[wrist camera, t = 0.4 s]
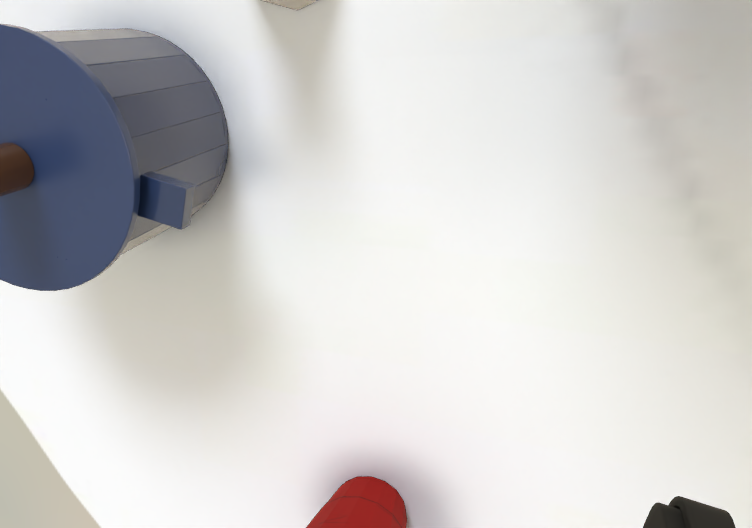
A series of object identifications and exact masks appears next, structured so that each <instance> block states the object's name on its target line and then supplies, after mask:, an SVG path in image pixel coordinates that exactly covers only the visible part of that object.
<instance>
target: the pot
mask: <svg viewBox="0 0 752 528" xmlns="http://www.w3.org/2000/svg"><path fill="white" fill-rule="evenodd" d="M37 33H40V34H42V35H44V36H46V37H48V38H50V39H52V40H53V41H55V42H57V43H59V44H60V45H61V46H63V47H64V48H66V49H67V50H69V51H70V52H72V53H73V54H74V55H75V56H76V57H77V58H78V59H80V60H81V61H82V62H83V63H84V64H85V65H86V66H87V67H88V68H89V69H90V70H91V71H92V72H93V73H94V74H95V76H96V77H97V78H98V79H99V80H100V81H101V83H102V84H103V85H104V87H105V88H106V90H107V91H108V92H109V94H110V95H111V97H112V98H113V100H114V102H115V103H116V105H117V107H118V109H119V110H120V112H121V114H122V116H123V119H124V121H125V123H126V125H127V127H128V130H129V132H130V136H131V139H132V142H133V145H134V148H135V152H136V157H137V162H138V167H139V178H140V202H139V209H138V215H137V219H136V223H135V226H134V229H133V233H132V235H131V237H130V239H129V241H128V243H127V245H126V247H125V248H124V250H123V251H122V253H121V254H123V253H125V252H127V251H129V250H130V249H132V248H134V247H136V246H138V245H140V244H141V243H143V242H145V241H147V240H149V239H151V238H153V237H154V236H156V235H158V234H160V233H162V232H164V231H165V230H167V229H169V228H171V227H174V228H178V229H181V230H182V229H183V228H185V227H187V226H189V225H190V222H191V216H192V215H193V214H194V213H195V212H197V211H198V210H199V209H201V208H202V207H203V206H204V205H205V204H206V203H207V202H208V201H209V200H210V198H211V197H212V196H213V194H214V193H215V191H216V189H217V188H218V186H219V184H220V182H221V179H222V176H223V173H224V171H225V166H226V162H227V155H228V131H227V125H226V119H225V115H224V112H223V108H222V105H221V103H220V100H219V98H218V95H217V93H216V91H215V89H214V88H213V86H212V84H211V82H210V80H209V79H208V78H207V76H206V75H205V73H204V72H203V70H202V69H201V68H200V67H199V66H198V65H197V63H196V62H195V61H194V60H193V59H192V58H191V57H190V56H189V55H187V54H186V53H185V52H184V51H183V50H182V49H180V48H179V47H177V46H176V45H174V44H173V43H171V42H170V41H168V40H166V39H164V38H162V37H160V36H157V35H154V34H151V33H148V32H144V31H139V30H133V29H100V30H69V31H39V32H37ZM121 254H120V255H121Z"/></svg>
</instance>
